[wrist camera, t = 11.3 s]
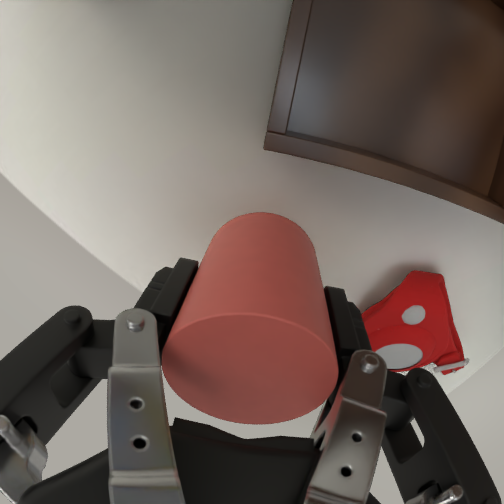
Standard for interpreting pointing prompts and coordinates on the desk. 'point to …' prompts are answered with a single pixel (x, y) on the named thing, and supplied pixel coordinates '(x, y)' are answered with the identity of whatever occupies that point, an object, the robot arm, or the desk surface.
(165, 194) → the desk surface
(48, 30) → the desk surface
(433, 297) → the red rounded piece
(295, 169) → the desk surface
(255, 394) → the pink cylinder
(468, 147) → the chest
